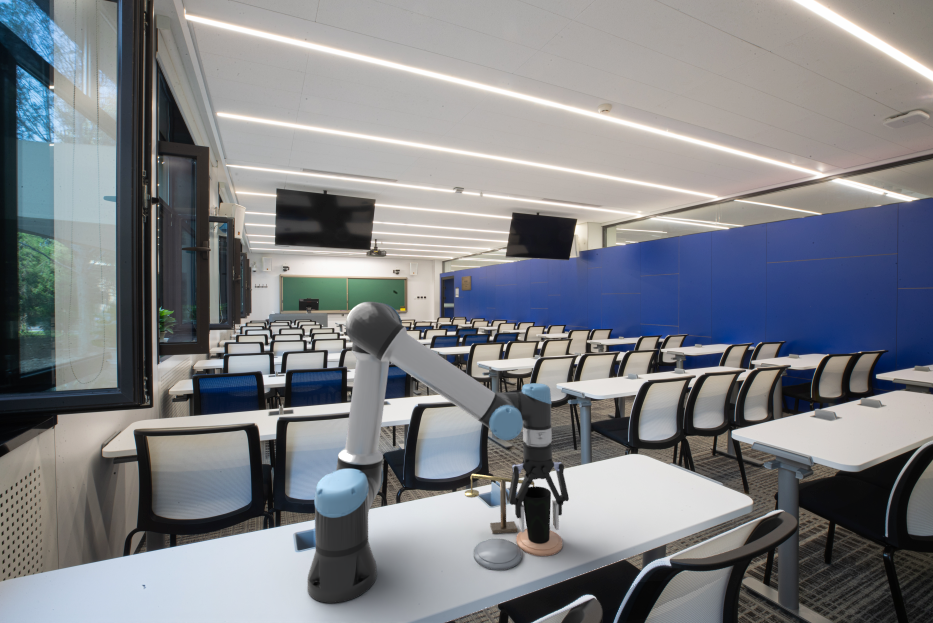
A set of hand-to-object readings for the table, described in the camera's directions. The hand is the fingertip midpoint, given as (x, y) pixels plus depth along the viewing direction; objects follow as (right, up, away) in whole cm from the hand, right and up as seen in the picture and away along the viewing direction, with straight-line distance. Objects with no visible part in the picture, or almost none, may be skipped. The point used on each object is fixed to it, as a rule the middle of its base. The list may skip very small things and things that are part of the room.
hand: (538, 528), depth 107 cm
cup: (0, -3, 0) cm, 3 cm away
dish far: (0, -4, 0) cm, 4 cm away
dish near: (-11, -4, -5) cm, 13 cm away
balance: (-9, -4, +7) cm, 12 cm away
